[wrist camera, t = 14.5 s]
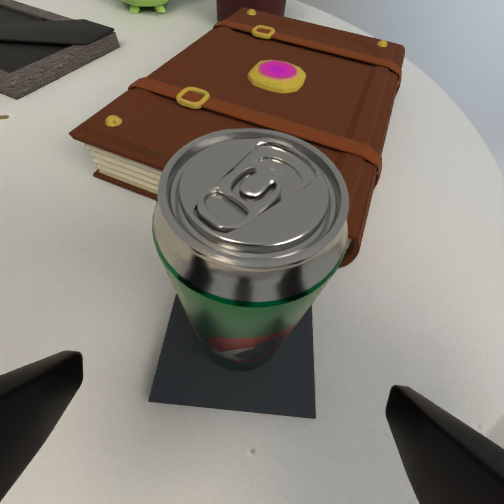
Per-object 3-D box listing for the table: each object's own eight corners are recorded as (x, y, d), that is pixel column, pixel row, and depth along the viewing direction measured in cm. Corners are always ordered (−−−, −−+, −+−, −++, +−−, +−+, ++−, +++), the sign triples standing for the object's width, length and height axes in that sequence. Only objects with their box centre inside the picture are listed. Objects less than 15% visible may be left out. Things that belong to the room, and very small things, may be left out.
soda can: (297, 325, 16) (404, 182, 6) (243, 393, 14) (272, 349, 4) (238, 276, 18) (246, 97, 8) (181, 331, 16) (88, 183, 6)
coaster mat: (308, 273, 19) (310, 270, 19) (313, 418, 14) (316, 418, 14) (186, 260, 19) (185, 256, 18) (150, 401, 14) (147, 401, 14)
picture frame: (119, 46, 36) (9, 10, 39) (114, 28, 34) (-1, -8, 38) (16, 99, 28) (-110, 48, 32) (2, 79, 26) (-129, 27, 30)
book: (92, 176, 23) (60, 122, 18) (240, 44, 38) (241, -1, 34) (345, 274, 19) (378, 235, 15) (393, 84, 35) (415, 39, 31)
